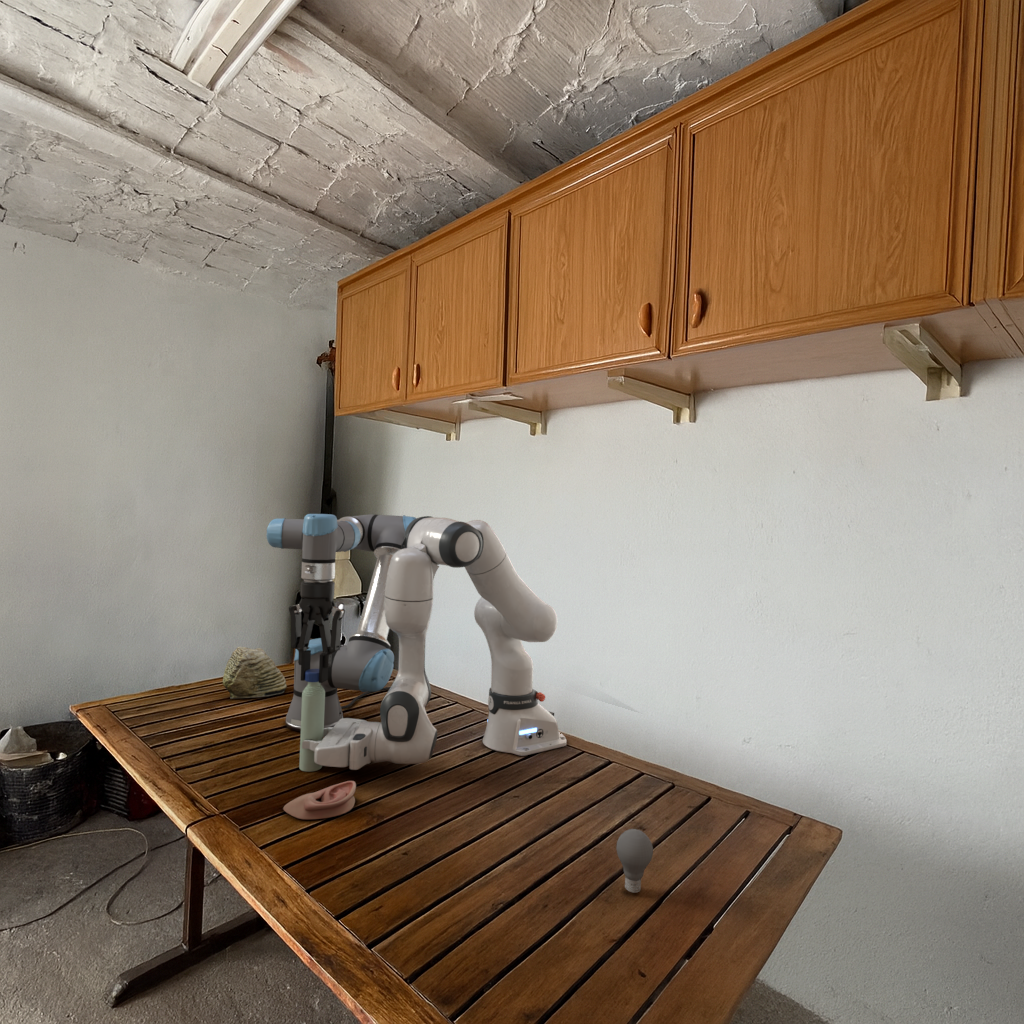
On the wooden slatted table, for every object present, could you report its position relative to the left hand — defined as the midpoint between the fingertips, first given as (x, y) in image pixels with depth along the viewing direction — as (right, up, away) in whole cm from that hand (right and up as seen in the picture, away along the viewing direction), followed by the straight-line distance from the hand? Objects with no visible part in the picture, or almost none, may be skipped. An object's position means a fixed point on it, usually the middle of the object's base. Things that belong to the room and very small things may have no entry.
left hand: (314, 680), depth 148 cm
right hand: (-1, -14, 0) cm, 14 cm away
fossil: (-34, -18, +50) cm, 64 cm away
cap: (0, +2, 0) cm, 2 cm away
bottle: (-1, -20, 0) cm, 20 cm away
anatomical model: (+7, -21, -19) cm, 29 cm away
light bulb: (+66, -24, -42) cm, 82 cm away
